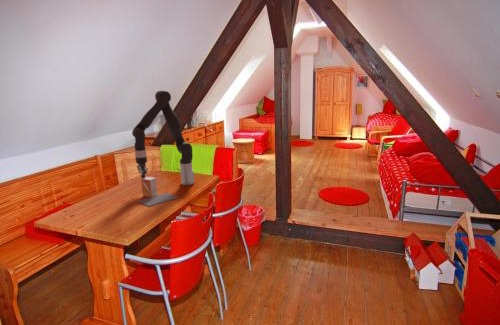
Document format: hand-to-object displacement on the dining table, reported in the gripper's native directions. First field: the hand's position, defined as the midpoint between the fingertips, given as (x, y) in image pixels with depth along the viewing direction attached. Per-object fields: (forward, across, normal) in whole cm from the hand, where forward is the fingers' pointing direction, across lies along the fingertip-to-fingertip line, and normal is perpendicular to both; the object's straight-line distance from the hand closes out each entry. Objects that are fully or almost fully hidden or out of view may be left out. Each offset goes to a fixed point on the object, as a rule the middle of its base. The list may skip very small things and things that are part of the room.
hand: (143, 179), depth 222 cm
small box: (+11, -8, 0) cm, 14 cm away
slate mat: (+10, -21, 0) cm, 23 cm away
